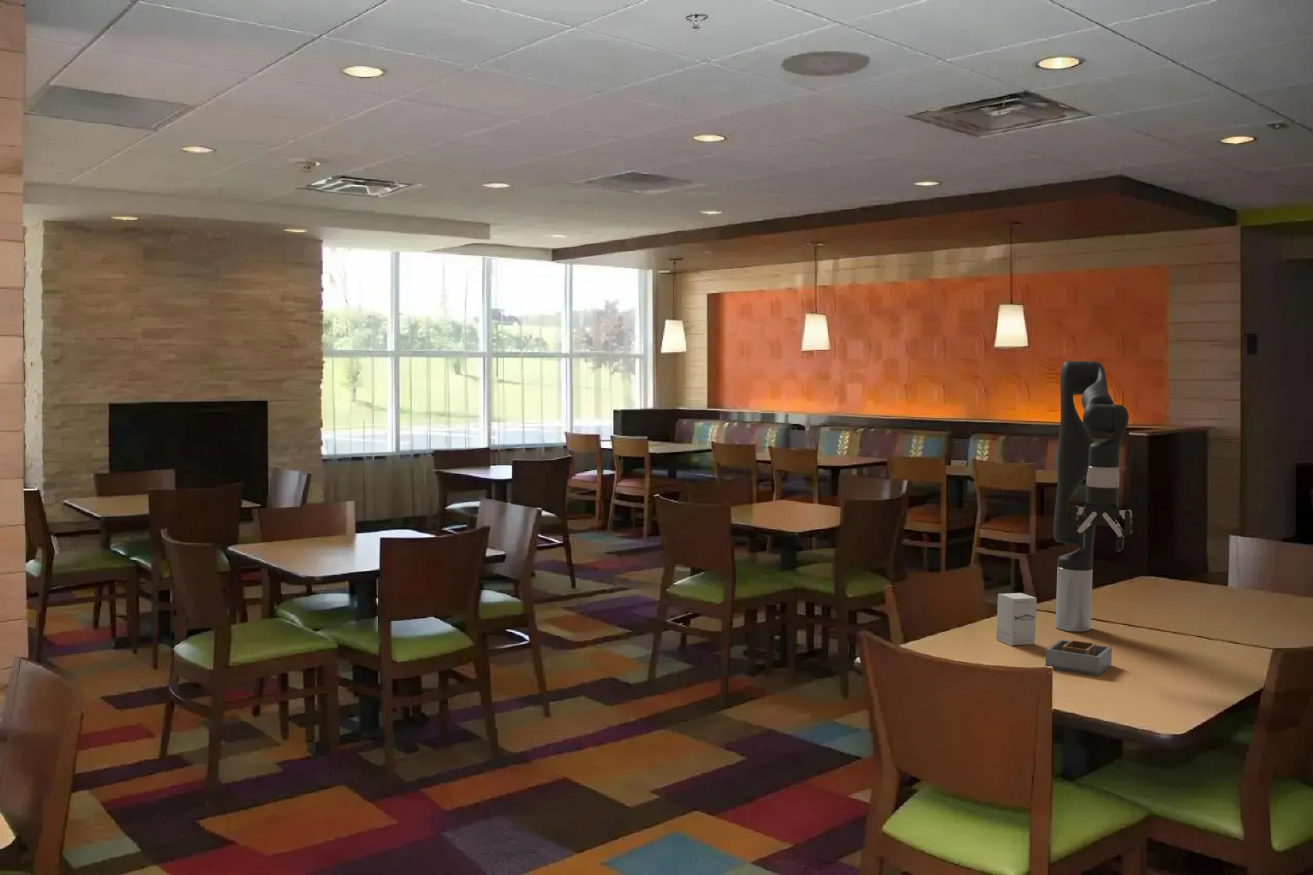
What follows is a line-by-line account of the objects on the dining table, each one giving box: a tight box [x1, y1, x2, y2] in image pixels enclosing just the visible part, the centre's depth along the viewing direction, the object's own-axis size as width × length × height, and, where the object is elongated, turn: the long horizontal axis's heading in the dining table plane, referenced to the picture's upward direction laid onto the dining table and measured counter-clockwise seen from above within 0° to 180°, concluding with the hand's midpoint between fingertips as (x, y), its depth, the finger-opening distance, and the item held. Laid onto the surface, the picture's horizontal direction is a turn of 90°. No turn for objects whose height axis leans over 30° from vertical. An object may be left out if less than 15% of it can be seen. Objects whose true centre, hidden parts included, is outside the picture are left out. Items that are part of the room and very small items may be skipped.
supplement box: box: [995, 592, 1037, 647], centre depth 296 cm, size 7×7×13 cm
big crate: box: [1044, 639, 1113, 677], centre depth 272 cm, size 12×12×4 cm
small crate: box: [1062, 639, 1097, 656], centre depth 272 cm, size 8×6×4 cm
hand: (1100, 549), depth 277 cm, fingers open, 8 cm apart
